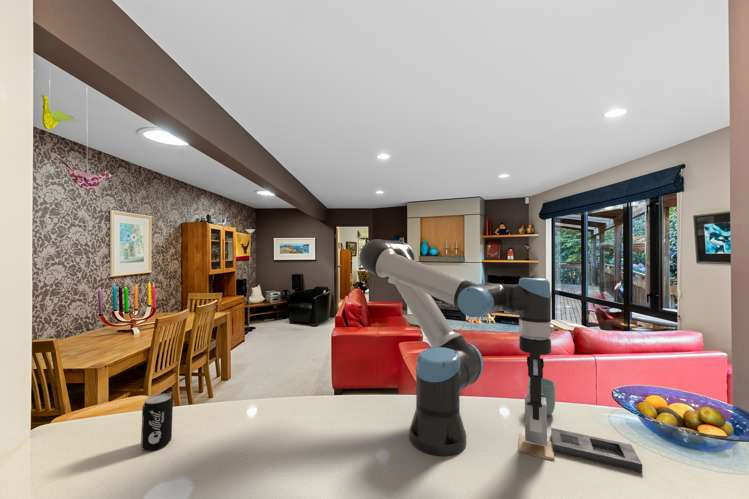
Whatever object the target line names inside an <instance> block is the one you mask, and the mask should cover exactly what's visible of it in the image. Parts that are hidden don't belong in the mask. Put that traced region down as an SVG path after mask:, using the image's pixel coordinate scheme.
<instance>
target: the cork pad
mask: <svg viewBox="0 0 749 499" xmlns="http://www.w3.org/2000/svg"><path fill="white" fill-rule="evenodd" d="M518 438H519V439H518V453H522V454H525V455H531V456H532V457H533V456H534V457H537V458H538V457H539V458H542V459H546V460H551V461H554V462H555V454H554V453H555V452H554V451H553V443H552V440H551V441H550V440H547V446H545V445H541V444H537V443H532V442H528V441H525V434H519V437H518Z"/></svg>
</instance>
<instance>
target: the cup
mask: <svg viewBox="0 0 749 499" xmlns="http://www.w3.org/2000/svg"><path fill="white" fill-rule="evenodd" d="M527 391H528V392H527V393H528V394H527V395H530V377H528V381H527ZM541 393H543V398H546V403H547V416H550V415H552V414H553V413H554V411H555V407H556V384H555V382H554V381H553V380H551V379H549V378H545V377H543V378H542V379H541ZM541 397H542V396H541Z"/></svg>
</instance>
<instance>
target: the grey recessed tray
mask: <svg viewBox="0 0 749 499" xmlns="http://www.w3.org/2000/svg"><path fill="white" fill-rule="evenodd" d="M550 430H551V431H550V434H551V442H552V443H553V451H554V453H555V454H560V455H564V456H569V457H573V458H577V459H581V460H585V461H590V462H594V463H598V464H603V465H606V466H610V467H614V468H618V469H624V470H627V471H631V472H636V473H639V474H643V463H642V461H641V460H640V458H639V456H638V454H637V453H636V451H635V449H634V446H633V445H632V444H630V443H625V442H622V441H615V440H610V439H608V438H607V439H606V438H602V437H596V436H592V435H587V434H583V433H578V432H573V431H568V430H567V431H566V430H563V429H559V428H553V427H551V429H550ZM594 448H599V449H604V450H607V451H613V452H617V453H619V455H620V456H618V455H614V454H610V453H606V452H601V451H597V450H594Z"/></svg>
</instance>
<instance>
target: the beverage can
mask: <svg viewBox="0 0 749 499" xmlns="http://www.w3.org/2000/svg"><path fill="white" fill-rule="evenodd" d="M173 402H174V401H173V399H172V395H171V394H170V393H158V394H154V395H150V396H148V397H146V398H145V400H144V403H143V405H142V410H141V411H142V412H141V431H140V432H141V433H140V435H141V436H140V438H141V439H140V447H141V448H142V449H143V451H146V452H153V451H157V450H160V449H163V448H165V447H166V446H168V445H169V443H170V442H171V441H172V436H173V435H172V434H173V411H174V410H173V407H174V403H173Z"/></svg>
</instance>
